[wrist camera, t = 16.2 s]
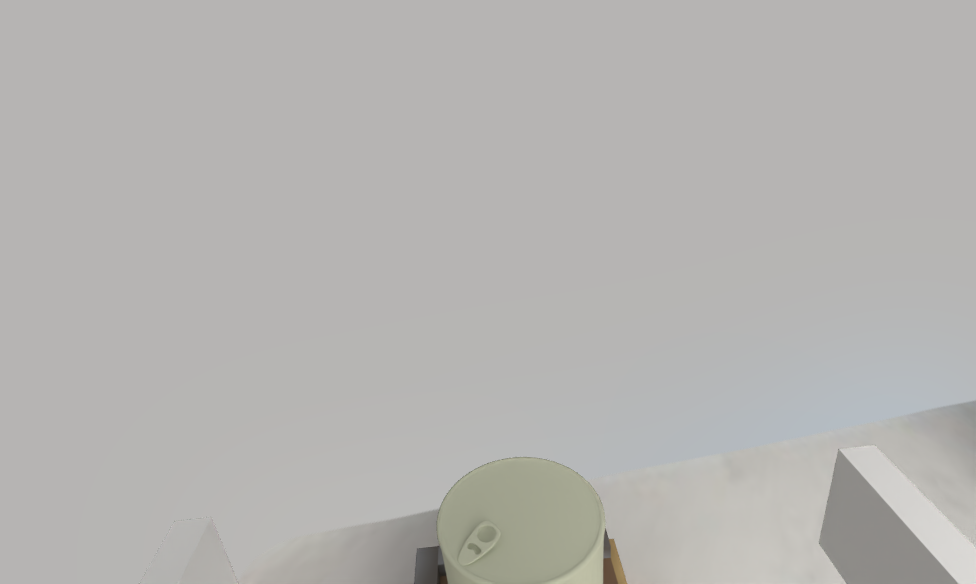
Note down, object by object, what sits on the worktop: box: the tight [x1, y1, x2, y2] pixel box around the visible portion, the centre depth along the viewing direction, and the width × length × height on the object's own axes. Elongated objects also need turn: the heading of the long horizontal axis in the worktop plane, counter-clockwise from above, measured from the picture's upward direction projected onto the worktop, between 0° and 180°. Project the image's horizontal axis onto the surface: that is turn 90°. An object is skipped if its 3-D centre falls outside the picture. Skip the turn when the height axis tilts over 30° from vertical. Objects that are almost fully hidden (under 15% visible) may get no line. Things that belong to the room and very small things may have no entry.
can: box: [437, 457, 605, 584], centre depth 34 cm, size 9×9×12 cm
